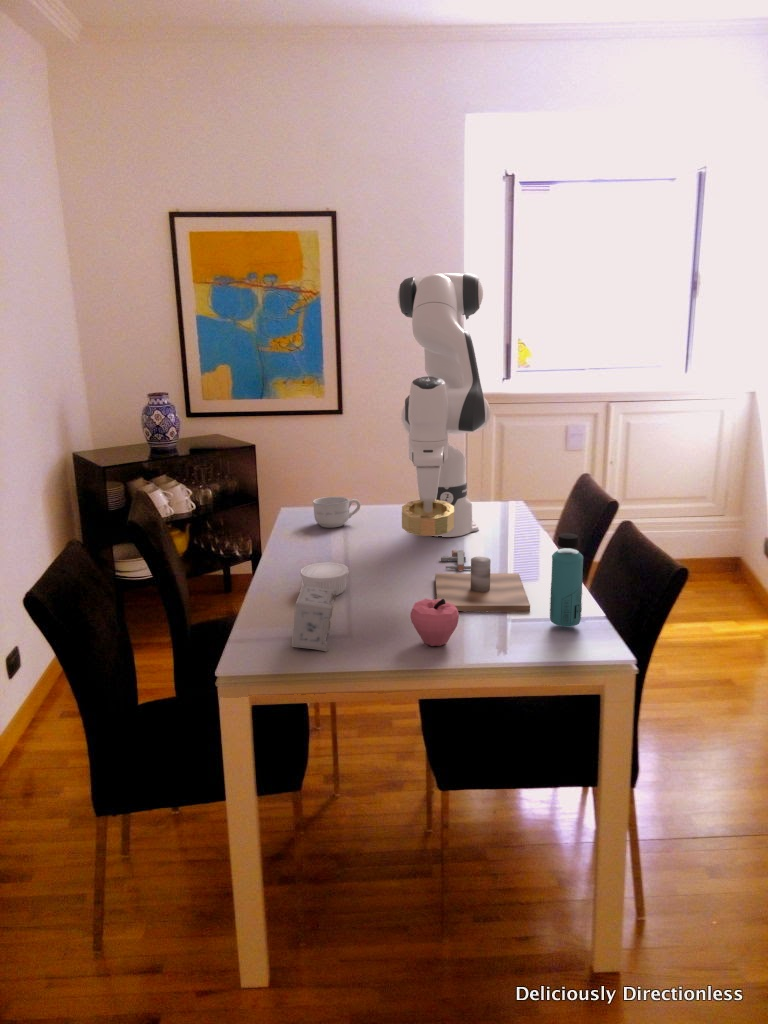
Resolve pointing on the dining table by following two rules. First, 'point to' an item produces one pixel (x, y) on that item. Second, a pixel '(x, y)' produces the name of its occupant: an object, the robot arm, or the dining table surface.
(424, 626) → the apple
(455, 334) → the robot arm
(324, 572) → the ramekin
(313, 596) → the incense holder
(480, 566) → the piston stand
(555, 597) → the beverage bottle
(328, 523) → the teacup
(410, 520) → the wooden ring
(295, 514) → the dining table surface
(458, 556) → the clamp
